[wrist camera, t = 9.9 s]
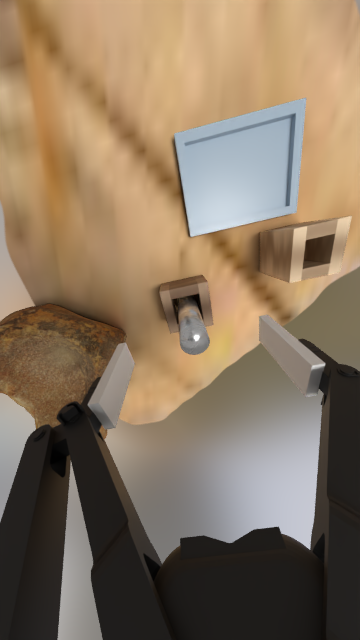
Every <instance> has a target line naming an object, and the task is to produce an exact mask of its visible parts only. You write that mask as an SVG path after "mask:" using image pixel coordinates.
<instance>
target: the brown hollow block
mask: <svg viewBox="0 0 360 640" xmlns="http://www.w3.org/2000/svg"><path fill="white" fill-rule="evenodd" d="M159 293H160V297H161V301H162V304H163V308H164V312H165V315H166V319H167V323H168V327H169V330H170V334H171V333H176V332H179V316H178V312H177V311H176V307H175V302H174V299H175V298H180V297H184V296H189V295H194V294H197V297H198V303H199V307H198V309H199V311H200V314H201V317H202V320H203V323H204V325H205V327H206V326H212V325H213V317H212V310H211V302H210V295H209V287H208V281H207V280H206V279H205V278H204V276H203V275H200V276H195V277H191V278H186V279H182V280H177V281H172V282H168V283H163V284H161V288H160V291H159Z"/></svg>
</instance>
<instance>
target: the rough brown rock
mask: <svg viewBox="0 0 360 640" xmlns="http://www.w3.org/2000/svg"><path fill="white" fill-rule="evenodd" d="M125 340H126V334H125V333H124V332H123V331H122V330H120V329H118V328H115V327H112V326H109V325H107V324H104V323H100V322H97V321H93V320H90V319H88V318H85V317H82V316H80V315H77V314H75V313H73V312H71V311H69V310H67V309H65V308H62V307H60V306H57V305H53V304H45V305H42V306H34V307H29V308H25V309H22V310H19V311H16V312H14V313H12V314H10V315H8V316H7V317H5V318H4V319H3V320H2V321H1V322H0V393H4V394H6V395H8V396H9V397H10V398H11V399H13V400H14V401H15V402H16V403H17V404H19V405H21V406H22V407H24V408H25V409H26V410H27V411H28V412H29V413H30V414H31V415H32V417H33V418H34V419H35V424H36V429H37V428H39V427H40V426H43V425H45V424H49V425H50V426H51V427H52V428H53V427H55V426H57V425H60V424H61V423H60V422H59V421H58V420H57V419H56V418H57V414H58V412H59V411H60V410H61V409H62V408H63V407H64V406H65V405H66V404H68V403H70V402H73V401H77V402H78V403H79V404H80V405H81V403H82V401H83V399H84V398H85V396H86V394H87V392H88V390H89V389H90V387H91V385H92V383H93V382H94V381H95V380H96V379H97V377H101V376H102V375H103V373H104V371H105V369H106V367H107V365H108V363H109V362H110V360H111V358H112V356H113V354H114V352H115V350H116V348H117V346H118V344H121V343H125ZM100 432H101V433H102V436H103V438H104V439H105V438H106V436H107V429H106V430H105V429H104V427H103V426H102V425H101V428H100Z"/></svg>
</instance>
